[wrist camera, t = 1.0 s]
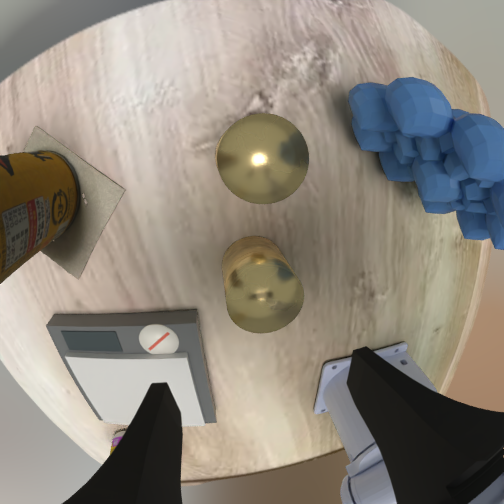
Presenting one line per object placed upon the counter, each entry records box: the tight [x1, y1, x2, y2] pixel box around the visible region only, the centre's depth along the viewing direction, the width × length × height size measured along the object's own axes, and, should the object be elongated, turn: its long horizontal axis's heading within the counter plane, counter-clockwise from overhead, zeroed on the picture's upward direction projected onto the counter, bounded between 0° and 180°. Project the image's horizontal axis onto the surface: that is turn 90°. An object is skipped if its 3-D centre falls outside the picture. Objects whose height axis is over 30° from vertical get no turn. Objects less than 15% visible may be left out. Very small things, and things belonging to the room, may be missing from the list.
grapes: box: [348, 77, 504, 250], centre depth 11 cm, size 12×7×12 cm, turn 53°
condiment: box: [0, 126, 125, 284], centre depth 9 cm, size 7×8×12 cm
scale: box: [46, 310, 217, 426], centre depth 19 cm, size 12×12×2 cm
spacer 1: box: [215, 113, 309, 204], centre depth 13 cm, size 4×4×5 cm
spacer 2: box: [222, 236, 304, 333], centre depth 16 cm, size 4×4×5 cm
